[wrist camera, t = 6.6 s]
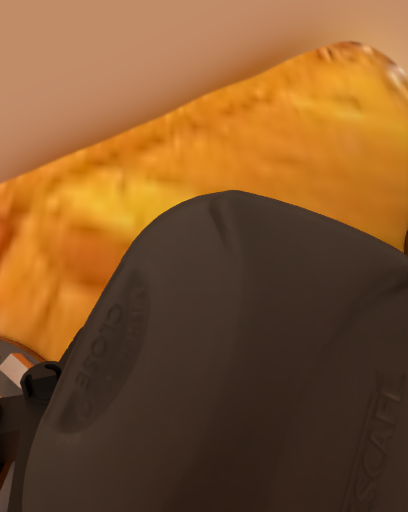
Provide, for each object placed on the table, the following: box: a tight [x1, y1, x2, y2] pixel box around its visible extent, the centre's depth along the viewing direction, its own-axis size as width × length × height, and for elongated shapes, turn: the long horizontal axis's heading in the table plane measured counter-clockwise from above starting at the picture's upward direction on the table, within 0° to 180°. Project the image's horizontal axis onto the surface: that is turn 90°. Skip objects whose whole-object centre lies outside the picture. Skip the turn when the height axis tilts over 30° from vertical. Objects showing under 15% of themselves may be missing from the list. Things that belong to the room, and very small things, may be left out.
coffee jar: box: [22, 190, 408, 512], centre depth 14 cm, size 10×8×19 cm
